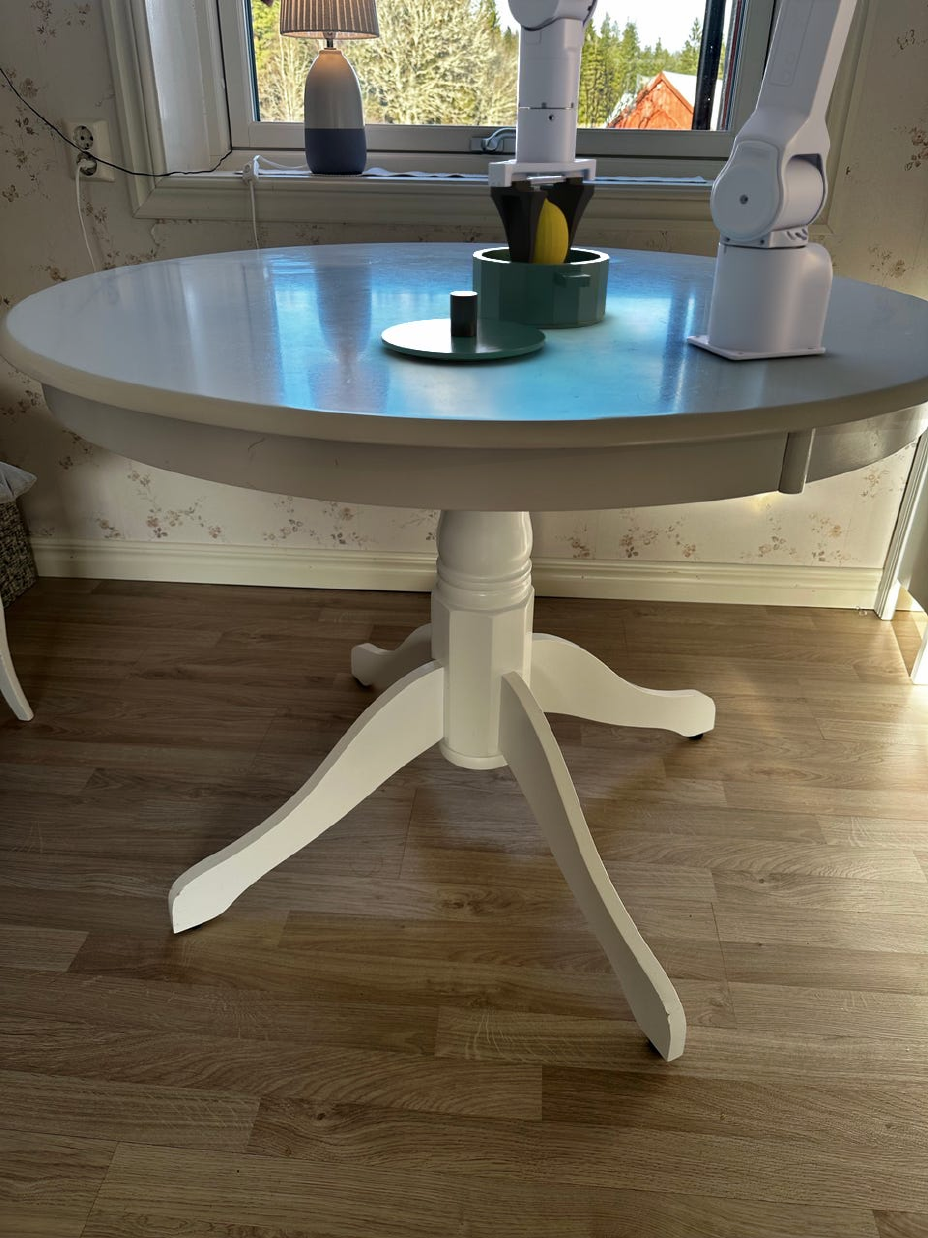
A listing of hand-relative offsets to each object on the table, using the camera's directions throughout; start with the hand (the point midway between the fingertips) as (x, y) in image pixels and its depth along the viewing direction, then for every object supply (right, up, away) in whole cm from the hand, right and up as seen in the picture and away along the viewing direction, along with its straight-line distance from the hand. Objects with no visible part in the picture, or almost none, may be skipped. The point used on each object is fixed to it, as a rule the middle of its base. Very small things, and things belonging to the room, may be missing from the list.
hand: (540, 262), depth 93 cm
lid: (-8, -11, -11) cm, 18 cm away
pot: (0, -5, +3) cm, 5 cm away
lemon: (0, -2, +1) cm, 2 cm away
